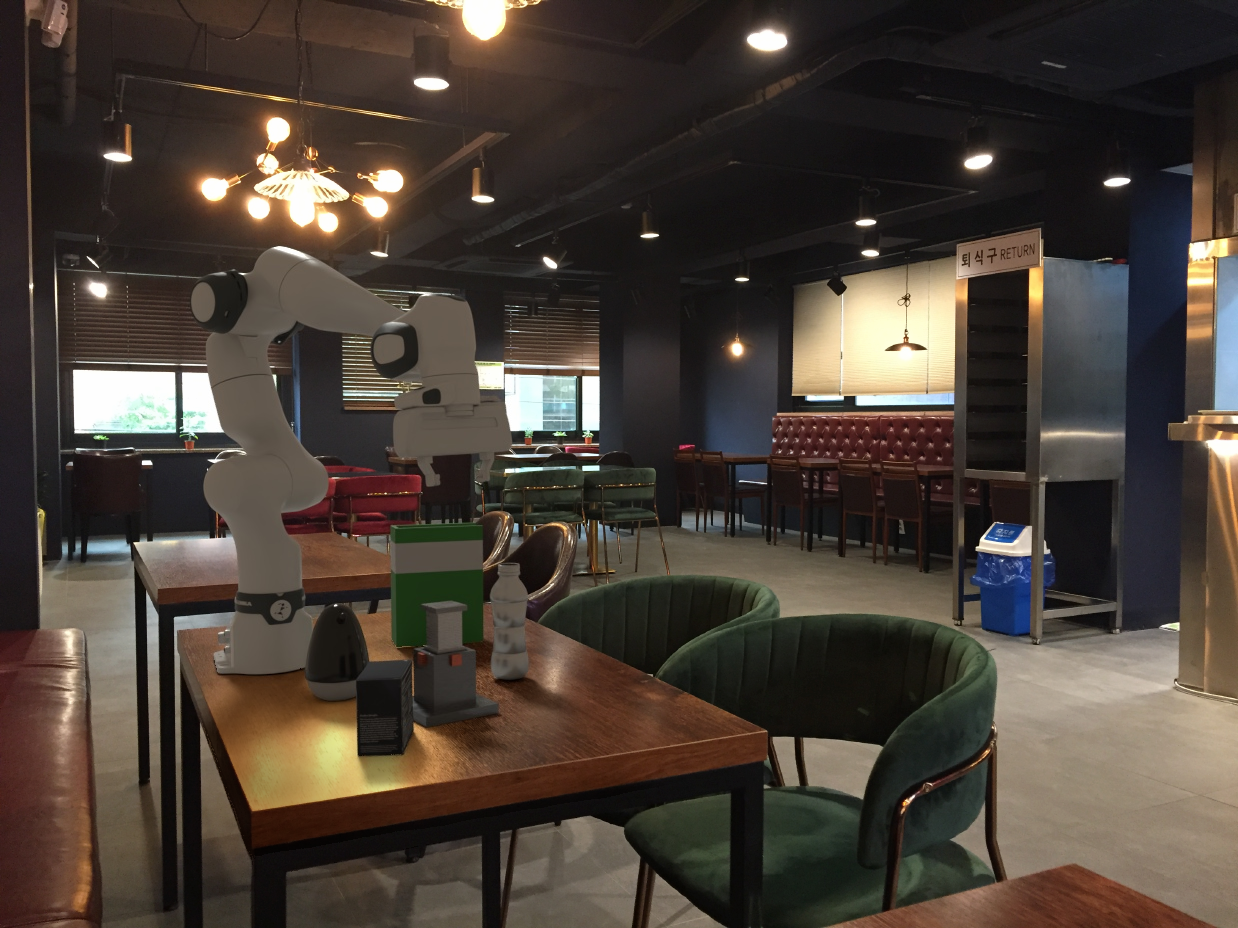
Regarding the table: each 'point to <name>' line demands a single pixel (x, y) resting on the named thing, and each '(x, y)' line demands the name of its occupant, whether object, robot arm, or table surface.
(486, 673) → the table surface
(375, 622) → the table surface
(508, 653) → the plastic bottle
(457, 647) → the column
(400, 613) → the hardback book
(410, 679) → the small box
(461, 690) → the stand
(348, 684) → the pump dispenser
